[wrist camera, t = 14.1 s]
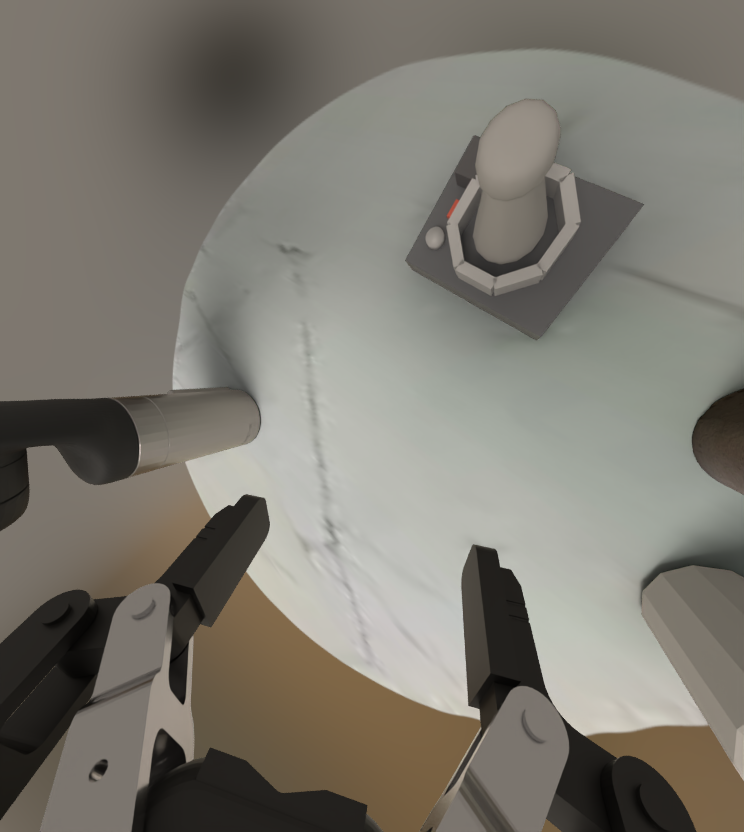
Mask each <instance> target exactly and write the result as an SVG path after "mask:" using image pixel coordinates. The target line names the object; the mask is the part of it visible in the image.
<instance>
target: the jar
mask: <svg viewBox="0 0 744 832" xmlns="http://www.w3.org/2000/svg"><path fill="white" fill-rule="evenodd" d="M641 615H642V616H643V618H644V619H645V621H646V623H647V624H648V626H649V628H650V629H651V631H652V633H653V634H654V636H655V637H656V639H657V641H658V642H659V644H660V646H661V647H662V649H663V651H664V652H665V654H666V655H667V657H668V659H669V660H670V662H671V664H672V665H673V667H674V669H675V670H676V672H677V673H678V675H679V677H680V678H681V680H682V682H683V683H684V685H685V687H686V688H687V690H688V691H689V693H690V695H691V696H692V698H693V700H694V701H695V703H696V705H697V706H698V708H699V709H700V711H701V713H702V714H703V716H704V718H705V719H706V721H707V723H708V724H709V726H710V727H711V729H712V730H713V732H714V734H715V735H716V737H717V739H718V740H719V742H720V744H721V745H722V747H723V748H724V750H725V752H726V754H727V755H728V757H729V759H730V760H731V762H732V763H733V765H734V767H735V768H736V770H737V771H738V773H739V774H740V776H741V777H742V779H743V780H744V577H742V576H740V575H738V574H737V573H735V572H733V571H731V570H723V569H716V568H709V567H702V566H695V565H691V566H687V567H683V568H679V569H675V570H671V571H667V572H663V573H660V574H659V575H658V576H657V577H656V578H655V579H654V580H653V581H652V582H651V583H650V584H649V585H648V586H647V587H646V588H645V589H644V590H643V592H642V613H641Z"/></svg>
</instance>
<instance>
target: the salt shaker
mask: <svg viewBox="0 0 744 832" xmlns="http://www.w3.org/2000/svg"><path fill="white" fill-rule="evenodd" d="M560 137H561V128H560V124H559V120H558V116H557V113H556V110H555V109H553V108H552V107H551V106H550V105H549V104H548V103H546V102H545V101H544V100H537V99H524V100H521V101H518V102H516V103H513V104H511V105H508V106H506V107H505V108H504V109H503V110H502V111H501V112H500V113H498V114H497V115H496V116H495V117H494V118H493V119H492V120H491V121H490V122H489V124H488V126H487V127H486V129H485V131H484V133H483V134H482V136H481V138H480V140H479V146H478V152H477V157H476V163H475V167H476V173H477V177H478V181H479V185H480V188H481V189H482V190H483V191H482V195H481V200H480V204H479V208H478V212H477V216H476V221H475V227H474V232H473V239H474V242H475V246H476V250H477V252H478V253H479V254H480V255H481V256H482V257H483V258H484V259H485V260H486V261H489V262H492V263H496V264H500V265H502V264H506V263H511V262H516V261H518V260H519V259H521V258H522V257H524V256H525V255H527V254H529V253H530V252H531V251H532V250H533V249H534V247H535V246H536V244H537V243H538V242H539V240H540V239H541V237H542V236H543V235H544V231H545V227H546V223H547V219H548V212H547V199H546V186H545V176H546V174H547V173H548V171H549V170H550V168H551V167H552V165H553V163H554V160H555V157H556V153H557V149H558V145H559V141H560Z"/></svg>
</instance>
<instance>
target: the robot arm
mask: <svg viewBox="0 0 744 832" xmlns="http://www.w3.org/2000/svg"><path fill="white" fill-rule="evenodd" d="M259 427H260V415H259V411H258V408H257V405H256V404H255V402H254V400H253V399H252V398H251V396H249V395H248V394H247V393H246V392H244V391H241V390H231V389H229V388H228V387H219V388H200V389H180V390H170V391H169V392H168V393H167V394H158V395H143V396H128V397H112V398H96V399H51V400H31V401H0V531H1V530H3V529H5V528H6V527H8V526H9V525H11V524H12V523H14V522H15V521H16V520H17V519H18V518H19V517H21V515H22V514H23V513H24V512H25V510H26V508H27V505H28V501H29V477H28V463H27V451H26V448H28V447H36V446H49V445H54V446H55V447H56V448H57V449H58V450H59V452H60V453H61V455H62V456H63V458H64V459H65V461H66V463H67V464H68V465H69V467H70V468H71V470H72V471H73V472H74V473H75V474H76V475H77V476H78V477H79V478H81V479H82V480H83V481H85V482H87V483H89V484H93V485H102V484H107V483H111V482H115V481H118V480H122V479H125V478H129V477H133V476H136V475H140V474H143V473H147V472H150V471H153V470H156V469H160V468H164V467H167V466H171V465H174V464H177V463H181V462H185V461H188V460H192V459H195V458H199V457H203V456H206V455H210V454H213V453H217V452H220V451H224V450H227V449H231V448H234V447H238V446H241V445H245V444H248V443H250V442H252V441H253V440H254V439H255V437H256V436H257V434H258V431H259ZM269 527H270V522H269V516H268V510H267V505H266V500H265V499H264V498H261V497H257V496H252V495H248V494H246V495H243V496H242V497H241V498H240V499H239V501H238V502H237V503H236V504H235V506H230V505H228V506H227V507H225V508H224V509H222V510H221V511H219V512H218V513H216V514H215V515H214V516H213V517H212V518H211V520H210V521H209V522H208V523H207V524H206V525H205V528H204V529H202V530H201V531H200V532H199V534H198V535H197V536H196V538H195V539H193V541H192V542H191V543H190V544H189V545H188V546H187V547H186V549H185V550H184V551H183V552H182V553H181V554H180V556H179V557H178V558H177V559H176V560H175V562H174V563H173V564H172V565H171V566H170V567H169V568H168V570H167V571H166V572H165V573H164V574H163V575H162V576H161V577H160V578H159V579H158V580H157V581H156V582H155V583H154V584H149V585H146V586H143V587H141V588H139V589H137V590H135V591H134V592H132V593H131V594H130V595H128V596H124V597H114V598H104V599H94V600H93V599H92V598H91V596H90V595H89V594H88V593H87V592H86V591H83V590H72V591H68V592H65V593H62V594H60V595H58V596H56V597H54V598H52V599H50V600H49V601H47V602H46V603H44V604H43V605H42V606H40V607H39V608H38V609H37V610H36V611H35V612H34V613H33V614H32V615H31V616H30V617H28V618H27V619H26V620H25V621H24V622H23V623H22V624H21V625H20V626H19V627H18V628H17V629H16V630H14V631H13V632H12V633H11V634H10V635H9V636H8V637H7V638H6V639H5V640H4V641H3V642H2V643H1V644H0V820H1V819H2V817H3V816H4V815H5V813H6V812H7V810H8V809H9V808H10V806H11V805H12V804H13V802H14V801H15V800H16V798H17V797H18V796H19V794H20V793H21V792H22V790H23V789H24V787H25V786H26V785H27V783H28V782H29V781H30V779H31V778H32V777H33V775H34V774H35V772H36V771H37V770H38V768H39V767H40V766H41V764H42V763H43V762H44V760H45V759H46V758H47V756H48V755H49V754H50V752H51V751H52V750H53V748H54V747H55V745H56V744H57V743H58V741H59V740H60V739H61V737H62V736H63V735H64V733H65V732H66V731H67V729H68V728H69V726H70V728H69V731H68V735H67V738H66V742H65V745H64V749H63V752H62V756H61V759H60V763H59V766H58V770H57V773H56V776H55V780H54V783H53V787H52V790H51V794H50V797H49V800H48V804H47V807H46V811H45V814H44V818H43V821H42V825H41V828H40V832H383V831H382V830H381V828H380V827H379V826H378V825H377V823H376V822H375V821H374V820H373V819H372V818H371V817H369V816H368V815H367V814H366V812H367V805H365V804H363V803H360V802H357V801H355V800H352V799H349V798H346V797H344V796H341V795H338V794H335V793H333V792H330V791H327V790H321V791H307V792H295V793H280V792H278V791H277V790H276V789H275V788H274V787H273V786H272V785H270V784H269V782H268V781H266V780H265V779H264V778H263V777H262V776H261V775H260V774H259V773H258V772H257V771H256V770H255V769H254V768H253V767H252V766H251V765H250V764H249V763H248V762H247V761H245V760H243V759H240V758H237V757H235V756H232V755H229V754H226V753H224V752H221V751H218V750H215V749H213V748H210V749H209V751H208V753H207V755H206V757H204V758H200V759H196V760H193V755H194V727H193V719H192V714H191V703H190V702H191V680H192V659H193V634H194V632H195V631H196V630H197V628H198V627H199V625H200V624H202V625H205V626H208V627H212V625H213V624H214V622H215V620H216V619H217V617H218V616H219V614H220V612H221V611H222V609H223V607H224V606H225V604H226V603H227V601H228V599H229V598H230V596H231V594H232V593H233V591H234V589H235V588H236V586H237V585H238V583H239V581H240V580H241V578H242V576H243V575H244V573H245V572H246V570H247V568H248V567H249V565H250V563H251V562H252V560H253V559H254V557H255V555H256V554H257V552H258V550H259V549H260V547H261V545H262V544H263V542H264V541H265V539H266V537H267V535H268V532H269ZM461 586H462V604H463V621H464V638H465V655H466V672H467V689H468V706H471V707H474V708H478V709H480V720H481V728H480V730H479V731H478V733H477V735H476V737H475V738H474V740H473V742H472V744H471V746H470V747H469V749H468V751H467V752H466V754H465V756H464V757H463V759H462V761H461V763H460V765H459V766H458V768H457V770H456V771H455V773H454V775H453V777H452V778H451V780H450V782H449V784H448V785H447V787H446V789H445V791H444V792H443V794H442V796H441V797H440V799H439V800H438V802H437V803H436V805H435V806H434V808H433V809H432V811H431V813H430V814H429V816H428V818H427V819H426V821H425V823H424V824H423V826H422V828H421V829H420V831H419V832H541V831H542V828H543V825H544V822H545V820H546V819H547V820H549V821H550V822H551V823H552V824H554V825H555V826H556V827H557V828H558V829H559V830H561V831H562V832H696V830H695V828H694V825H693V822H692V820H691V818H690V816H689V814H688V812H687V810H686V808H685V806H684V805H683V803H682V801H681V800H680V798H679V797H678V795H677V794H676V792H675V791H674V790H673V788H672V787H671V786H670V785H669V784H668V782H667V781H666V780H665V779H664V778H663V777H662V776H661V775H660V774H659V773H658V772H657V771H656V770H655V769H654V768H652V767H651V766H650V765H648V764H647V763H645V762H644V761H642V760H640V759H638V758H636V757H632V756H622V757H619V758H618V759H617V758H616V757H614V756H613V755H611V754H610V753H608V752H607V751H605V750H604V749H603V748H601V747H600V746H598V745H597V744H595V743H594V742H592V741H591V740H589V739H588V738H586V737H585V736H584V735H582V734H581V733H579V732H578V731H577V730H575V729H574V728H573V727H572V726H571V725H570V724H569V723H567V721H566V720H565V719H564V718H563V717H562V716H561V715H560V713H559V712H558V711H557V709H556V708H555V706H554V705H553V703H552V701H551V699H550V697H549V695H548V693H547V690H546V688H545V685H544V681H543V677H542V673H541V668H540V664H539V660H538V656H537V651H536V647H535V643H534V639H533V635H532V630H531V626H530V623H529V618H528V614H527V609H526V608H525V601H524V597H523V592H522V588H521V585H520V584H519V582H518V581H517V579H516V577H515V576H514V574H513V572H512V571H511V570H510V569H506V568H501V567H500V564H499V559H498V554H497V551H496V550H495V549H492V548H488V547H483V546H479V545H472V547H471V550H470V552H469V555H468V558H467V560H466V563H465V566H464V568H463V572H462V583H461ZM54 666H55V667H54ZM53 667H54V668H53ZM52 668H53V669H52ZM51 669H52V670H51ZM50 670H51V671H50ZM49 672H50V673H49ZM48 673H49V674H48ZM47 674H48V675H47ZM46 675H47V676H46ZM45 676H46V677H45ZM44 677H45V678H44ZM43 678H44V679H43ZM41 681H42V682H41ZM40 682H41V683H40ZM39 683H40V684H39ZM38 684H39V685H38ZM37 685H38V686H37ZM36 686H37V687H36ZM35 687H36V688H35ZM33 690H34V691H33ZM32 691H33V692H32ZM31 692H32V693H31ZM30 693H31V694H30ZM29 694H30V695H29ZM28 695H29V697H28ZM26 698H27V699H26ZM90 698H91V699H90ZM25 699H26V700H25ZM89 699H90V701H89ZM24 700H25V701H24ZM23 701H24V702H23ZM88 701H89V702H88ZM22 702H23V703H22ZM87 702H88V703H87ZM21 703H22V704H21ZM86 703H87V704H86ZM20 704H21V705H20ZM19 706H20V707H19ZM18 707H19V708H18ZM17 708H18V709H17ZM16 709H17V710H16ZM15 710H16V711H15ZM14 711H15V712H14ZM13 712H14V714H13V715H12V713H13ZM11 715H12V716H11ZM10 716H11V717H10ZM9 717H10V718H9ZM8 718H9V719H8ZM7 719H8V720H7ZM4 723H5V724H4Z"/></svg>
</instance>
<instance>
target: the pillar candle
mask: <svg viewBox="0 0 744 832" xmlns="http://www.w3.org/2000/svg"><path fill="white" fill-rule="evenodd" d="M692 445H693V452H694V455H695V457H696V460H697V462H698V463H699V465H700V466H701V468H702V469H703V470H704V471H706V472H707V473H708V474H709V475H710V476H711V477H712V478H714V479H715V480H717V481H718V482H720V483H722V484H724V485H725V486H728V487H730V488H732V489H734V490H736V491H738V492H740V493H741V494H743V495H744V389H742V390H740V391H737V392H734V393H732V394H730V395H727V396H725V397H723V398H722V399H720V400H718V401H717V402H715V403H714V404H713V405H712V406H711V407H710V408H709V409H708V410H707V411H706V412H705V414H704V415H703V416H702V417H701V418H700V419H699V421H698V423H697V425H696V427H695V430H694V432H693V438H692Z"/></svg>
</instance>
